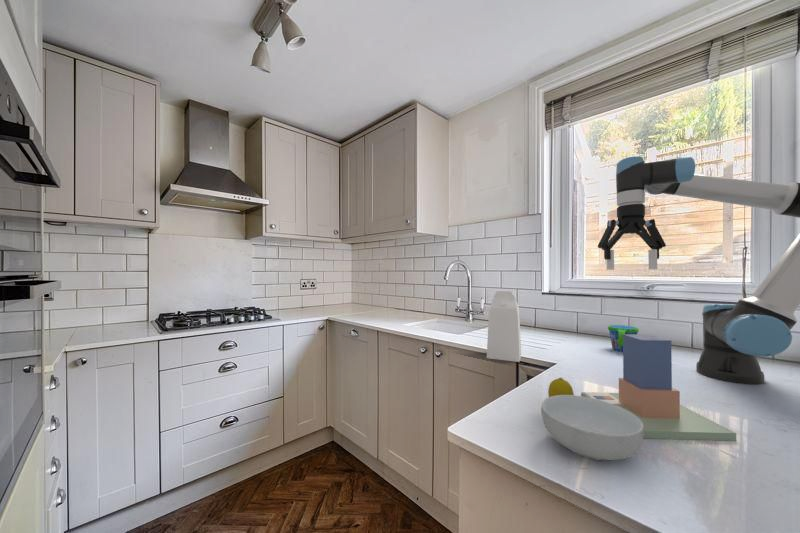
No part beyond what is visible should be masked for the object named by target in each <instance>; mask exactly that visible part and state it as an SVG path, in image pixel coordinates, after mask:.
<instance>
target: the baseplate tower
mask: <svg viewBox="0 0 800 533" xmlns="http://www.w3.org/2000/svg"><path fill="white" fill-rule="evenodd" d="M580 394H581V395H580V396H583V397H589V398H594V399H598V400H601V401H605V402H608V403H611V404H614V405H616V406H619V407H621V408H623V409H625V410H627V411H629V412H631V413H632V414H634V415H635V416H637V417H638V418H639V419H640V420H641V421H642V423H643V426H644V435H643V439H656V440H657V439H659V440H696V441H698V440H699V441H701V440H702V441H703V440H704V441H733V442H734V441H737V432H735V431H733V430H731V429H729V428H727V427H726V426H723V425H721V424H719V423H718V422H715V421H713V420H712V419H710V418H708V417H705V416H703V415H701V414H699V413H697V412H696V411H693V410H691V409H689V408H688V407H685V406H684V405H682V404H681V403H680V402H681V401H680V398H681V397H680V395H681V394H680V390H679V389H678V390H677V389H676V388H674V387H672V390H666V389H641V388H639V387H637V386H636V385H634V384H632V383H630V382H628V381H626V380H624V379H623V377H619V378H618V392H589V391H585V392H584V391H582V392H580Z"/></svg>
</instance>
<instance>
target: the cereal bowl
mask: <svg viewBox="0 0 800 533" xmlns="http://www.w3.org/2000/svg"><path fill="white" fill-rule="evenodd" d="M540 410H541V419H542V422H543V426H544V427H545V428H546V431H547V432H548V434H550V436H551V437H552V439H554V440H555V441H556V442H558V443H559V444H560V445H562V446H563V447H565V448H567V449H569V450H571V451H572V452H574V453H575V454H577V455H579V456H580V457H584V458H588V459H591V460H596V461H618V460H624V459H628V458H629V457H630V458H631V457H633V456H634V455H635V454H636V453H637V452H638V451H639V450H640V449H641V447H642V444H643V442H644V441H643V440H644V438H643V435H644V426H643V423H642V421H641V420H640V419H639V418H638V417H637V416H635V415H634V414H632V413H631V412H629V411H627V410H625V409H623V408H621V407H619V406H616V405H614V404H611V403H608V402H605V401H601V400H598V399H594V398H589V397H583V396H581V395H575V394H574V395H556V396H551V397H549V396H548V397H547V398H545V399H544V400H542V402H541V408H540Z"/></svg>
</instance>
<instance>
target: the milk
mask: <svg viewBox="0 0 800 533" xmlns="http://www.w3.org/2000/svg"><path fill="white" fill-rule="evenodd" d="M491 301H492V302H491V303H490V306H489V310H488V320H487V321H488V324H487V326H488V328H487V346H486V347H487V348H486V359H490V360H491V359H492V360H499V361H507V362H517V363H520V362H521V357H522V343H521V320H520V307H519V304H518V302H517V299H516V296H515V294H514V292H513V290H496V291H495V294H494V295H493V298H492V300H491Z"/></svg>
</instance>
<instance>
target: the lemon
mask: <svg viewBox="0 0 800 533" xmlns="http://www.w3.org/2000/svg"><path fill="white" fill-rule="evenodd" d="M556 395H575V392H574V390H573V387H572V385H571V384H570V382H568V381H567V380H565V379H564V378H563V377H558V378H555V379H553V380H552V381H551V382H550V383H549V385H548V397H551V396H556Z"/></svg>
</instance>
